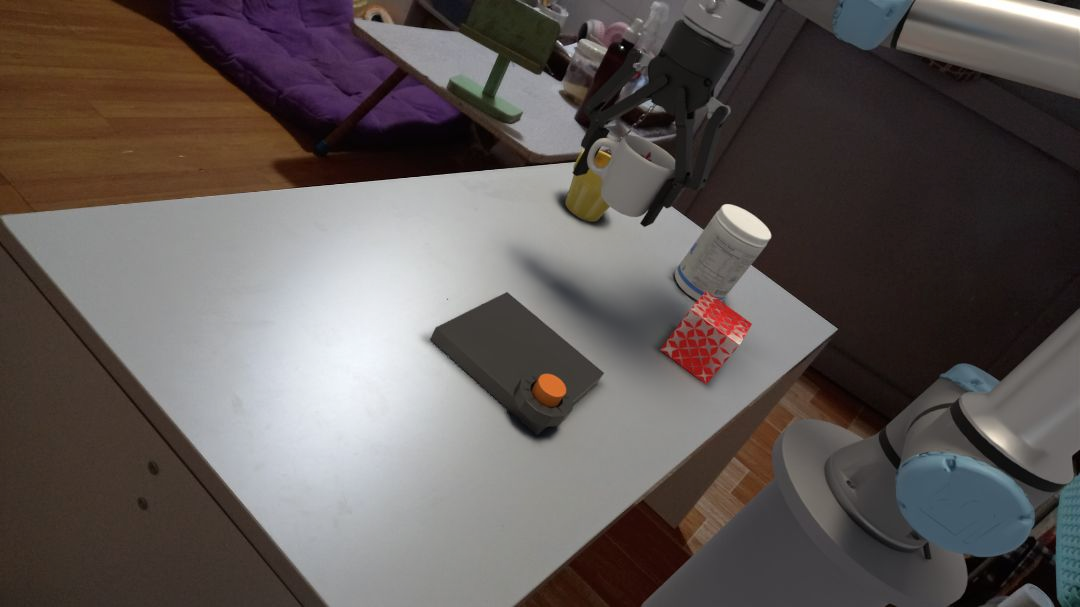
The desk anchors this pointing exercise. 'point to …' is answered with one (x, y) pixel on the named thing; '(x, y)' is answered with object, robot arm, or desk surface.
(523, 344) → the scale
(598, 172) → the cup
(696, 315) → the red patterned cube
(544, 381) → the button
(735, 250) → the supplement tub
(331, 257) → the desk surface
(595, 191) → the flower pot
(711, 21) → the robot arm
